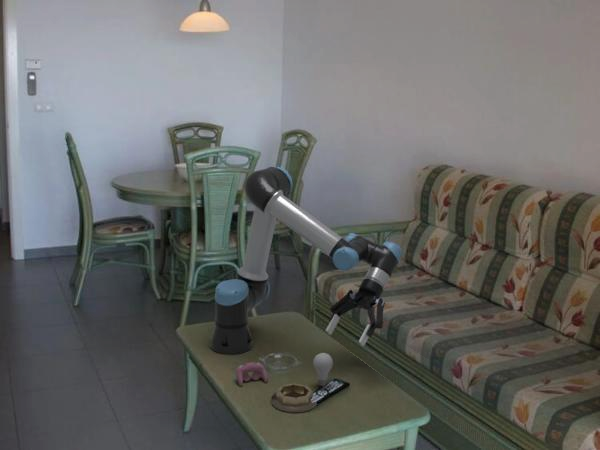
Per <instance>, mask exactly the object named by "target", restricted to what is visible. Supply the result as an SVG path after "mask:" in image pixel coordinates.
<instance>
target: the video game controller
mask: <svg viewBox="0 0 600 450" xmlns="http://www.w3.org/2000/svg"><path fill="white" fill-rule="evenodd" d="M249 373H252V375H251V376H250V374H249ZM235 375H236V381H237V383H238V385H239V386H240V387H243V384H244V382H249V381H250V380H251V377H252V379H253V381H258V380H259V378H260V377H262V380H263V381H264V383H268V381H269V377H268V374H267V370H266V368H265V366H264V365H263V364H262V363H260V362H247V363H243V364H240V365H239V366H237V367H236V369H235Z"/></svg>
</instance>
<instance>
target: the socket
mask: <svg viewBox="0 0 600 450" xmlns="http://www.w3.org/2000/svg"><path fill="white" fill-rule="evenodd" d="M312 396H313V390H312V389H311V388H310V387H309V386H308V385H306V384H299V383H287V384H283V385H280V387H279V388H278V389H277V390H276V392H274V393H273V394H272V395H271V397H270V400H271V402H270V404H271V405H272V407H273V408H275V409H276V410H278V411H279V412H280V411H281V412H284V413H289V414H302V413H303V414H304V413H307V412H309V411H312V410H314V409H315V408H317V406H318V404H317V402H314V403H310V401H311V399H312ZM316 405H317V406H316Z"/></svg>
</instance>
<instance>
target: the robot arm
mask: <svg viewBox="0 0 600 450" xmlns="http://www.w3.org/2000/svg"><path fill="white" fill-rule="evenodd" d="M292 178H293V177H291V175H290V173H289V172H288V170H286V169H285V168H283V167H281V166H269V167H267V168H264V169H263V168H262V169H259V170H256V171H253V172H251V173H250V175H248V176H247V178H246V180H245V182H244V193H245V195H246V197H247V199H248V200H249V202H250V203H251V204H252V205H253V206H254V210H253V214H252V219H251V224H250V229H249V235H248V238H247V239H248V240H247V245H246V249H245V254H244V259H243V264H242V266H241V267H240V268H238V269H237V273H236V278H235V279H228V280H223V281H221V282H219V283H218V284H217V285H216V287H215V294H214V310H215V311H214V313H215V315H214V320H215V321H214V324H215V325H214V329H213V332H212V334H211V337H210V341H209V342H210V345H209V346H210V349H211V350H212V351H214V352H216V353H219V354H222V355H223V354H225V355H235V354H236V355H237V354H242V353H247V352H248V351H250V350H251V349H252V348H253V338H252V333H251V332H250V328H249V324H248V323H249V319H248V318H249V312H251V310H253V309H254V308H257V307H258V306H260V305H261V304H262V303H264V301H265V300H266V299H267V298H268V296H269V294H270V291H271V290H270V289H271V288H270V287H271V285H270V282H269V274H268V273H267V266H268V261H269V256H270V252H271V246H272V242H273V238H274V233H275V228H276V223H277V219H278V221H280V222H281V223H282V224H284V225H285V226H287V227H288V228H289V229H291V230H292V231H293V232H295V233H296V234H298V235H299V236H300V237H302V238H303V239H304V240H306V241H307V242H309V243H310V244H311V245H313V246H314V247H315V248H317V249H318V250H320V251H321V252H322V253H323V254H325V255H327V256H328V257H329V258H330V259H332V263H333V265H334V266H335V268H337V270H339V271H341V272H342V271H343V272H344V271H345V272H347V271H349V270H353V269H355V267H357V265H358V264H360V263H361V262H363V263H365V264H367V265H369V266H370V267H369V268H368V271H367V273H366V274H365V275H364V278H363V280H362V281H361V283H360V285H359V288H358V291H357V292H354V291H353V290H352V289H349V290H348V292H347V293H346V294H345V295H344V296H343V297H342V298H341V299H340V300H338V301H337V302H336V303H335V304H334V305H332V306H331V307H330V308H329V310H330V312H331V313H332V315H331V317H330V318H329V320H328V323H329V324H328V325H327V327H326V329H325V332H326V333H327V334H328V335H330V336H331V335H332V334H333V332H334V330H335V328H336V326H337V325H338V323H339V321H340V320H341V318H340V317H341V316H342V315H344V314H346V313H347V312H349V311H351V310H353V309H356V308H359V309H364V310H367V315H368V317H369V322H370V323H368V324H367V325H366V327H365V329H364V331H363V333H362V334H361V336H360V338H359V340H358V343H359V344H360V345H361V346H363V347H365V345H366V343H367V341H368V339H369V338H371V337H372V335H373V333H374V332H375V330H376V329H382V328H383V327H384V326H383V325H384V323H383V322H384V321H383V320H384V307H385V305H386V302H385V301H384V299H383V298H382V297H381V296H382V294H383V292H384V289H385V288H386V286H387V284H388V282H389V280H390V279H391V277H392V275H393V273H394V272H395V270H396V268H397V267H398V265H399V262H400V260H401V258H402V256H403V250H402V248H401V247H400V246H399V245H398V244H397V243H394V242H392V241H391V242H390V241H385V242H384V243H383V244H382V245H381V244H379V243H376V242H374V241H372V240H370V239H367V238H366V237H363V236H362V235H360V234H356V233H353V232H349V233H348V234H347V236H346V237H345V239H344V238H343V237H342V236H340V235H339V234H337V233H336V232H335V231H334V230H332V229H331V228H329V227H328V226H326V225H325V224H324V223H322V222H321V221H319V220H318V219H317V218H315V217H314V216H313V215H311V214H310V213H308V212H307V211H306V210H305V209H303V208H302V207H300V206H299V205H297V204H296V203H295V202H293V201H292V200H291V199H289V198H288V196H289V195H290V194H291V192H292V190H293V187H294V186H293V179H292ZM375 305H376V315H375V310H374V306H375ZM375 316H376V317H375Z"/></svg>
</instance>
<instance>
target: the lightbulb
mask: <svg viewBox="0 0 600 450" xmlns="http://www.w3.org/2000/svg"><path fill="white" fill-rule="evenodd" d="M312 362H313V367H314V369H315V371H316V375H317V381H318V385H319V386H321V387H325V386H327V381H328V376H329V373H330V371H331V370H332V367H333V365H334V364H333V363H334V361H333V358H332V356H331V355H330V354H329V353H326V352H320V353H318V354H316V355H315V357H314V358H313V361H312Z"/></svg>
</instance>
